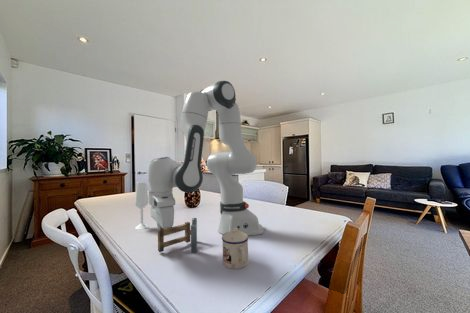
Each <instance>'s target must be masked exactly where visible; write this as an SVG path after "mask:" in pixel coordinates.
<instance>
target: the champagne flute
mask: <svg viewBox="0 0 470 313" xmlns="http://www.w3.org/2000/svg"><path fill="white" fill-rule="evenodd" d="M134 196H135V197H134V205H135V206H136V207H137V208H138V209H140V223H139V224H138V225H137V226H135V227H134V229H135V230H144V229H146V228H149V225H148V224H146V223H144V209H145V208H146V207H147V206H148V205H149V191H148V184H147V181H136V186H135V195H134Z"/></svg>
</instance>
